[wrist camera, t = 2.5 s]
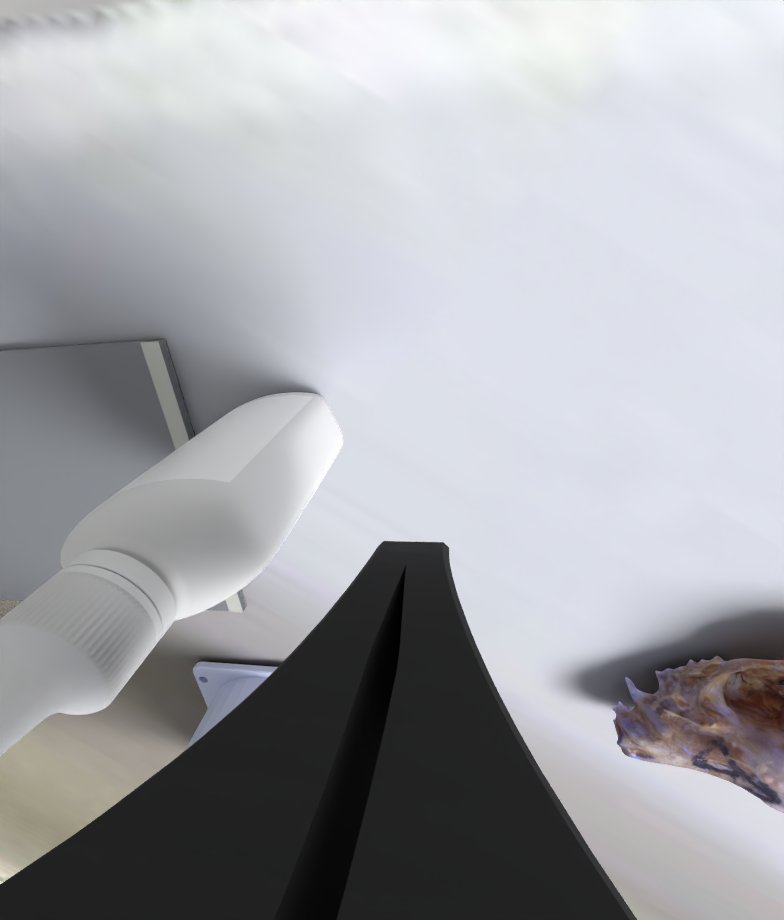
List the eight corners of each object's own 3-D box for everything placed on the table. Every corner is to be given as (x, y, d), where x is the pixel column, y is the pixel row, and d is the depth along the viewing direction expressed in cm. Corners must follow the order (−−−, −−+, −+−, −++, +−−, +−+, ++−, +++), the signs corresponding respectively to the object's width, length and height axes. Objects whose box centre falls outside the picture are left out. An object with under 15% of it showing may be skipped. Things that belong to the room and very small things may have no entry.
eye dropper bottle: (204, 371, 16) (-282, 609, 6) (350, 395, 16) (119, 702, 5) (212, 472, 18) (-137, 788, 8) (342, 496, 18) (163, 867, 7)
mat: (246, 605, 22) (242, 612, 21) (-20, 593, 24) (-28, 598, 24) (164, 339, 16) (157, 341, 16) (-170, 361, 19) (-183, 363, 18)
